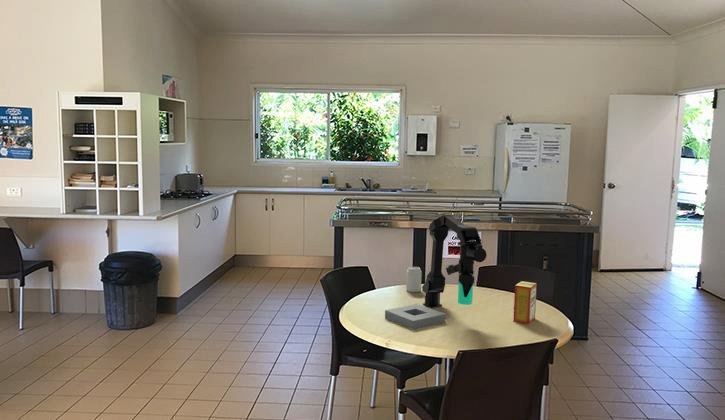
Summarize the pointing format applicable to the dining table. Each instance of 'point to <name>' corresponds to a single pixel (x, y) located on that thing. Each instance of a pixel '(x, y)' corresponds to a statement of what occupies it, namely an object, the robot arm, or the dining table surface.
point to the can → (413, 279)
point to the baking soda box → (525, 302)
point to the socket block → (415, 316)
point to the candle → (461, 297)
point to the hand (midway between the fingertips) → (465, 294)
